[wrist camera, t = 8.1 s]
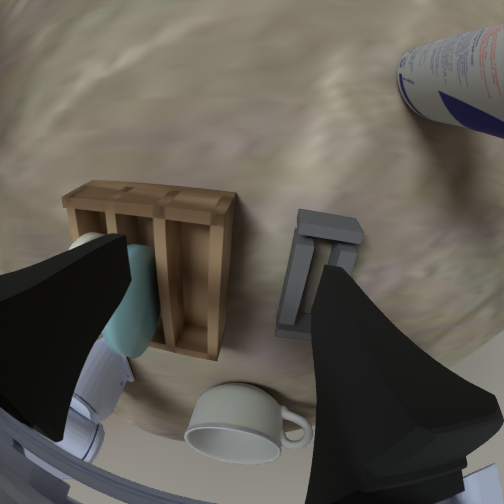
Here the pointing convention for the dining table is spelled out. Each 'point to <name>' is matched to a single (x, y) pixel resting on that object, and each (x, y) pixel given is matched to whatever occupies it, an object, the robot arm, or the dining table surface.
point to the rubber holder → (301, 253)
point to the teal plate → (136, 306)
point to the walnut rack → (170, 252)
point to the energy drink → (458, 80)
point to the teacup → (242, 425)
